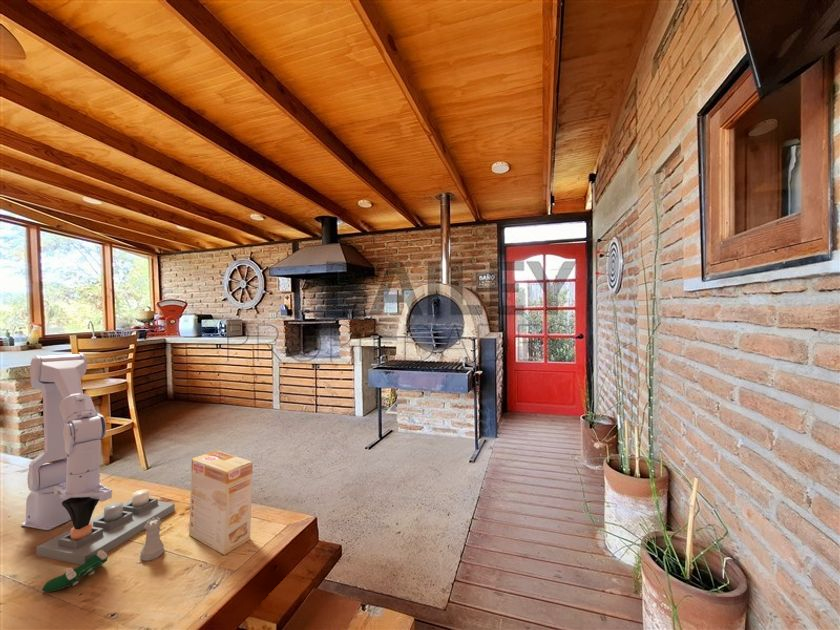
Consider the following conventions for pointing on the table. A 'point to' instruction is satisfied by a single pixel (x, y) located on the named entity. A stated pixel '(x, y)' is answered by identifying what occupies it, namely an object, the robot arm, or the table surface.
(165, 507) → the panel
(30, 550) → the table surface
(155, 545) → the rook chess piece
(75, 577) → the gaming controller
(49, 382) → the robot arm
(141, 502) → the button ivory
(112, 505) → the button light grey
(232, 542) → the coffeecake box
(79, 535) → the button terracotta
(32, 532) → the table surface
